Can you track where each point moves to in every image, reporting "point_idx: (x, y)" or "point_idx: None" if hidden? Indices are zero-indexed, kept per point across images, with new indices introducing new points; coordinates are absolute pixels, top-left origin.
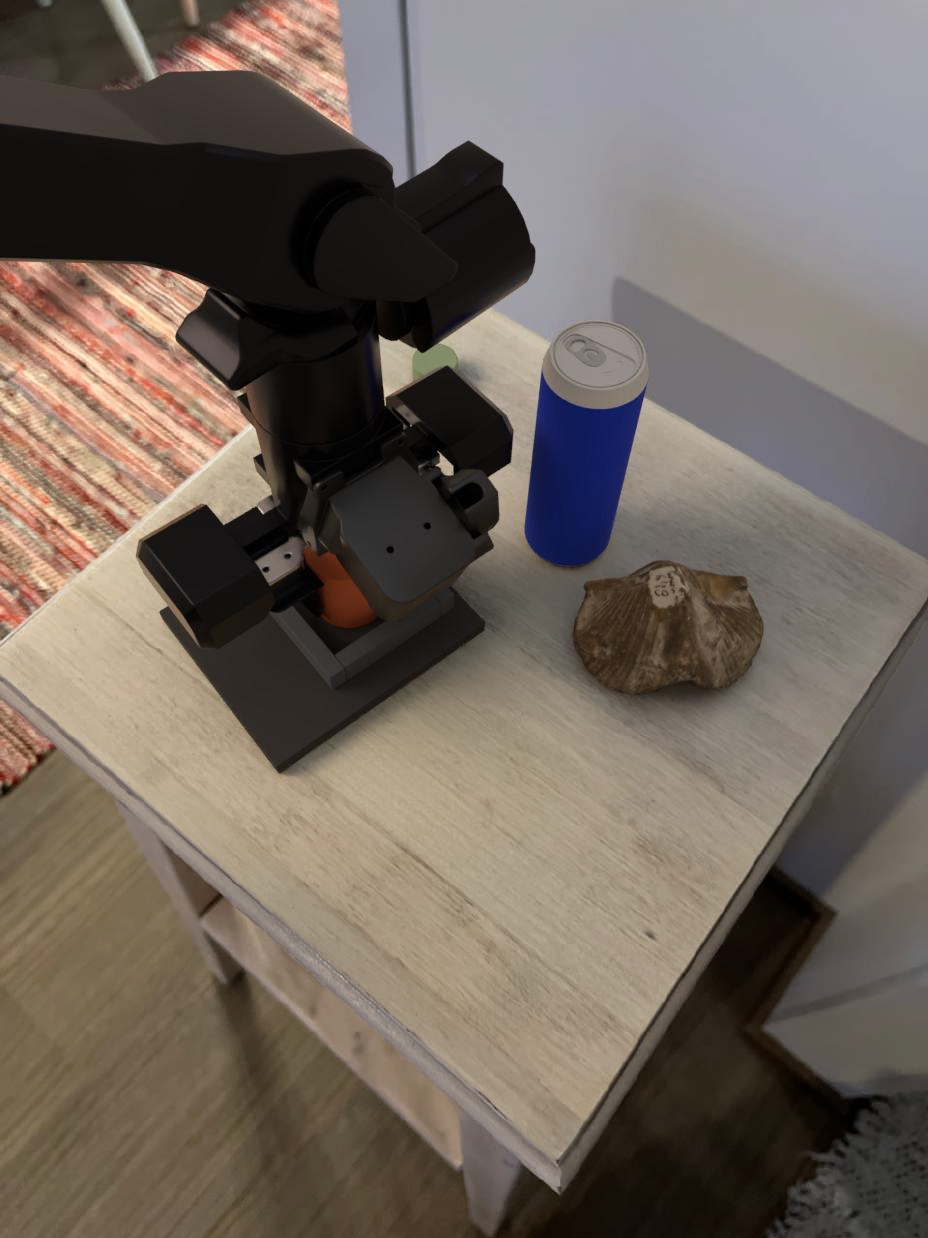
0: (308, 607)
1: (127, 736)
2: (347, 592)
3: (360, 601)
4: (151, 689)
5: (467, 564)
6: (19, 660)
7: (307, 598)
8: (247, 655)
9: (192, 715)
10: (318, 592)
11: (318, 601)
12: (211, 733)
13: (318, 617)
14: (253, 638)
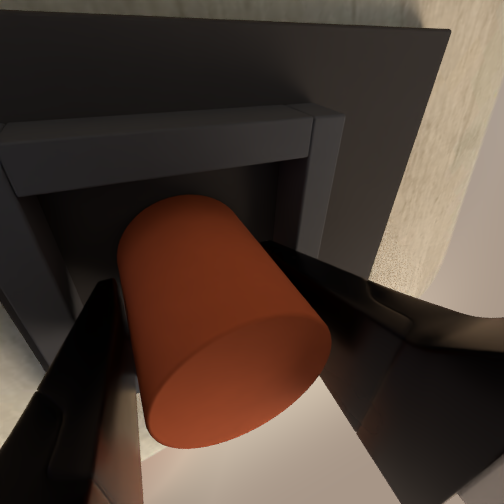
0: (332, 267)
1: (446, 194)
2: (272, 274)
3: (227, 241)
4: (402, 230)
5: None
6: (425, 290)
7: (371, 291)
8: (347, 225)
9: (406, 184)
10: (340, 296)
11: (312, 272)
12: (414, 151)
13: (269, 240)
14: (325, 244)
